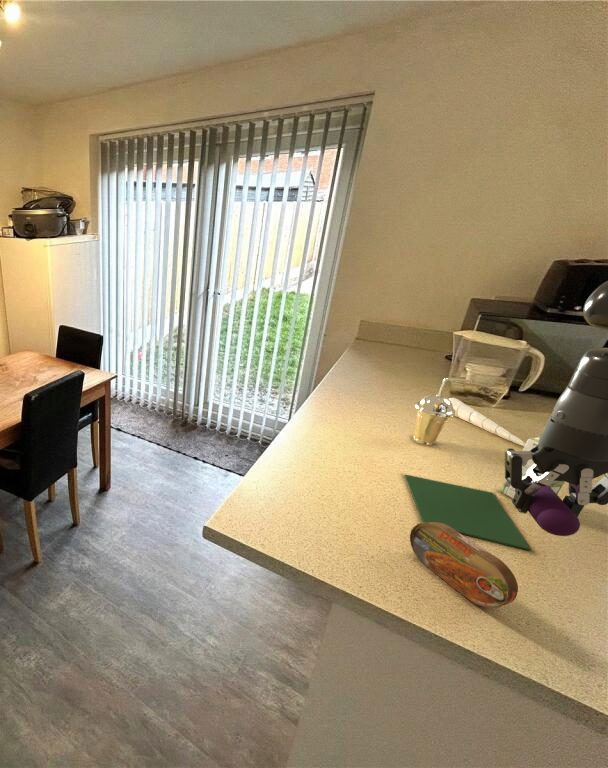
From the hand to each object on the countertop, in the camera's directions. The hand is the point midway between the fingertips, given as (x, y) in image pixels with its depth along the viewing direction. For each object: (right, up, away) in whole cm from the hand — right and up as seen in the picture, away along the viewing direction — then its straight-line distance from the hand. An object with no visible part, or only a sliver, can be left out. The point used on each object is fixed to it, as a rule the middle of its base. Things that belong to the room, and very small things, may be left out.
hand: (540, 513), depth 63 cm
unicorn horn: (+42, +8, +52) cm, 68 cm away
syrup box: (+23, -5, +23) cm, 33 cm away
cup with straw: (+19, +5, +45) cm, 49 cm away
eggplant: (0, -1, 0) cm, 1 cm away
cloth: (+6, -6, +21) cm, 22 cm away
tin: (-10, -13, +5) cm, 17 cm away
